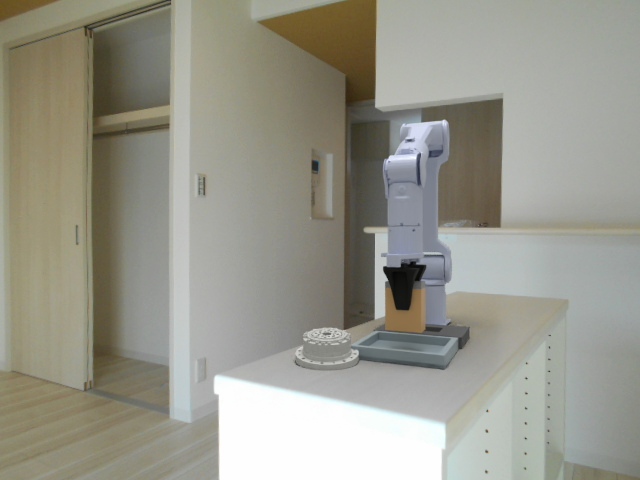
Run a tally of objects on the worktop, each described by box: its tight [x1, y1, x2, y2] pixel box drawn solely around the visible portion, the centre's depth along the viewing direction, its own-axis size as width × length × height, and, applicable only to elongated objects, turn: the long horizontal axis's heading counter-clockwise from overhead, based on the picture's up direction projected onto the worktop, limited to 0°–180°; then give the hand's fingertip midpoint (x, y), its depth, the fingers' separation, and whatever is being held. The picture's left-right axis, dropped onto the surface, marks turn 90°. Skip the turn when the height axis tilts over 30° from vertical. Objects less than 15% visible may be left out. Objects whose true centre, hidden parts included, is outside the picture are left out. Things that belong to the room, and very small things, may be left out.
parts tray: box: [351, 331, 459, 370], centre depth 76 cm, size 13×15×2 cm
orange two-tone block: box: [384, 280, 425, 333], centre depth 76 cm, size 3×6×8 cm, turn 64°
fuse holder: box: [372, 323, 471, 350], centre depth 87 cm, size 10×16×2 cm, turn 65°
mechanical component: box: [294, 327, 360, 371], centre depth 72 cm, size 10×4×10 cm
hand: (405, 308), depth 76 cm, fingers closed on orange two-tone block, 3 cm apart
